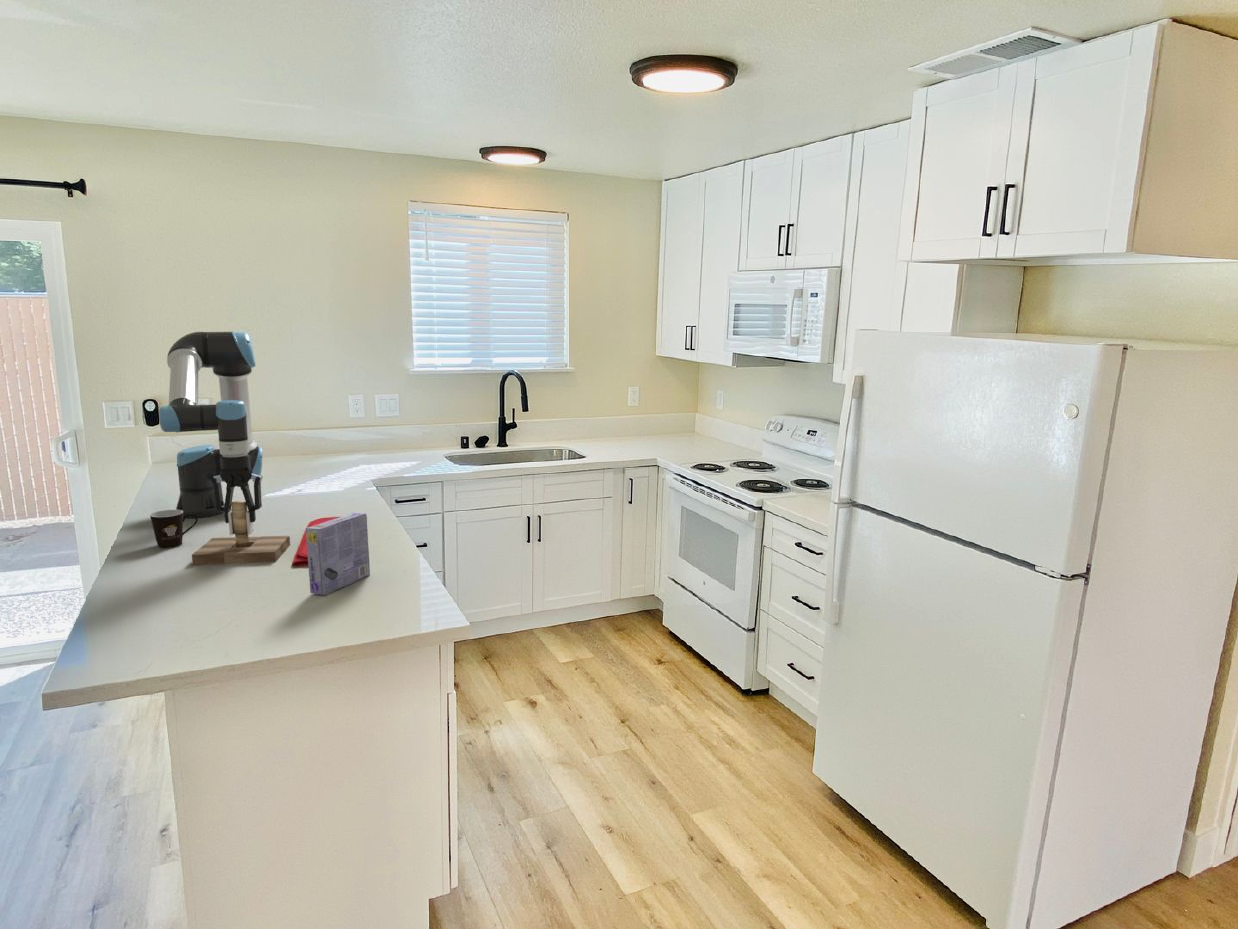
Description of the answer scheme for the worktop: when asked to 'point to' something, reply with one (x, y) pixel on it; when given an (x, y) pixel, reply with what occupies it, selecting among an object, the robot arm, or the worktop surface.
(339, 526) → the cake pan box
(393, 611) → the worktop surface
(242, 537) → the oak peg
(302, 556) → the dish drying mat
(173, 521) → the coffee mug
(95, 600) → the worktop surface
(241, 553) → the walnut board
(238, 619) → the worktop surface
